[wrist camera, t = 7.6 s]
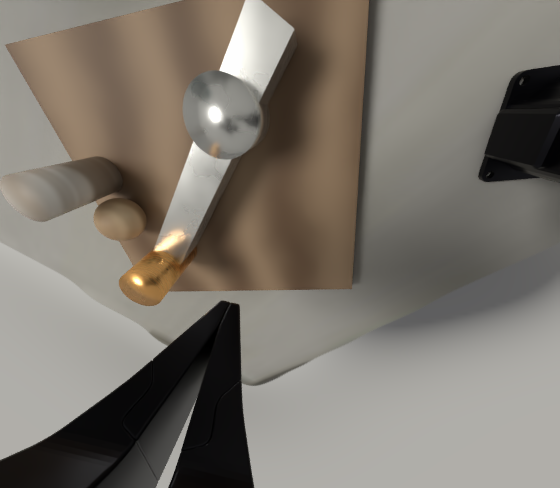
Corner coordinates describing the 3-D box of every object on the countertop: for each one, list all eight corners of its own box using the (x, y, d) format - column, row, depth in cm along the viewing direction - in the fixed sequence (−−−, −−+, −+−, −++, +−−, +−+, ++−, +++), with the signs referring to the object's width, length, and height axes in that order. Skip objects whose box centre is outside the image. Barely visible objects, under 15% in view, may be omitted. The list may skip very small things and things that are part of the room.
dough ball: (144, 190, 19) (112, 205, 16) (161, 227, 20) (135, 247, 17) (108, 193, 19) (71, 209, 16) (128, 229, 21) (97, 249, 18)
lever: (249, 5, 12) (204, -76, 7) (308, 55, 13) (308, 17, 8) (157, 248, 21) (110, 290, 16) (194, 267, 22) (160, 313, 17)
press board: (366, -33, 12) (429, -192, 6) (349, 280, 23) (364, 343, 17) (25, 49, 15) (-163, 8, 9) (154, 284, 26) (108, 336, 20)
